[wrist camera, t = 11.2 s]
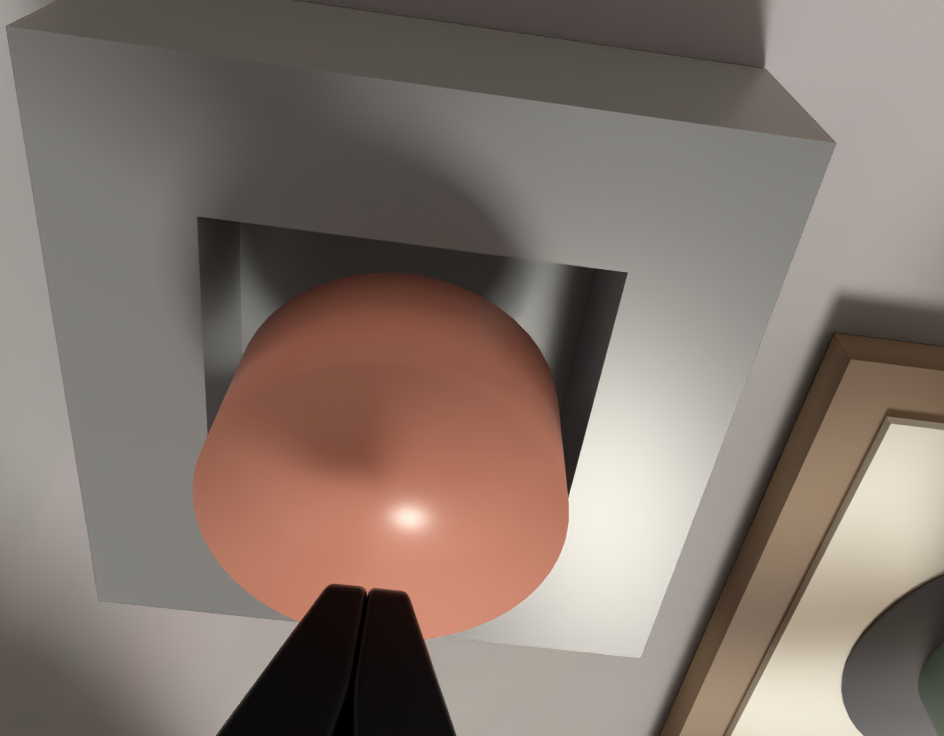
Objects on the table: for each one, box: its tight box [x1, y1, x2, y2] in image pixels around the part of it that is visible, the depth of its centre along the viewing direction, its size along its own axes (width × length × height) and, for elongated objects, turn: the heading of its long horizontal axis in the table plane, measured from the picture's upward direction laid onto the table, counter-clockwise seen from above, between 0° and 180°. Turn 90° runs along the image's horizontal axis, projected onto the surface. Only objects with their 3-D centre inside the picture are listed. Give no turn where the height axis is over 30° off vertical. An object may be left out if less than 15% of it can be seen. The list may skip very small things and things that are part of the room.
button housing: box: [6, 0, 836, 658], centre depth 13 cm, size 9×9×3 cm
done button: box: [193, 273, 569, 639], centre depth 11 cm, size 4×4×2 cm
